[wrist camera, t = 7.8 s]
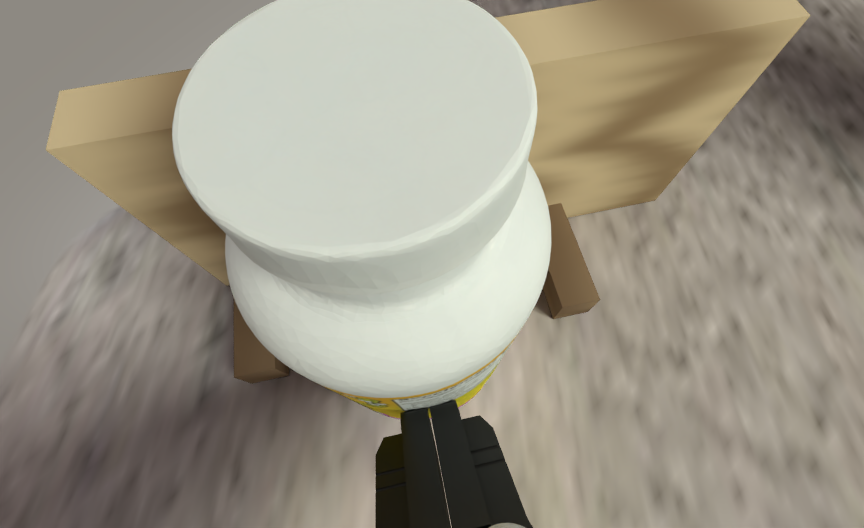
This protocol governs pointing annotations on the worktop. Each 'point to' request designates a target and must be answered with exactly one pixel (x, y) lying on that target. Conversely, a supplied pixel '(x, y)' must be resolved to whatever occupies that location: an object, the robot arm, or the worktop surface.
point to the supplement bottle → (372, 190)
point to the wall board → (552, 143)
